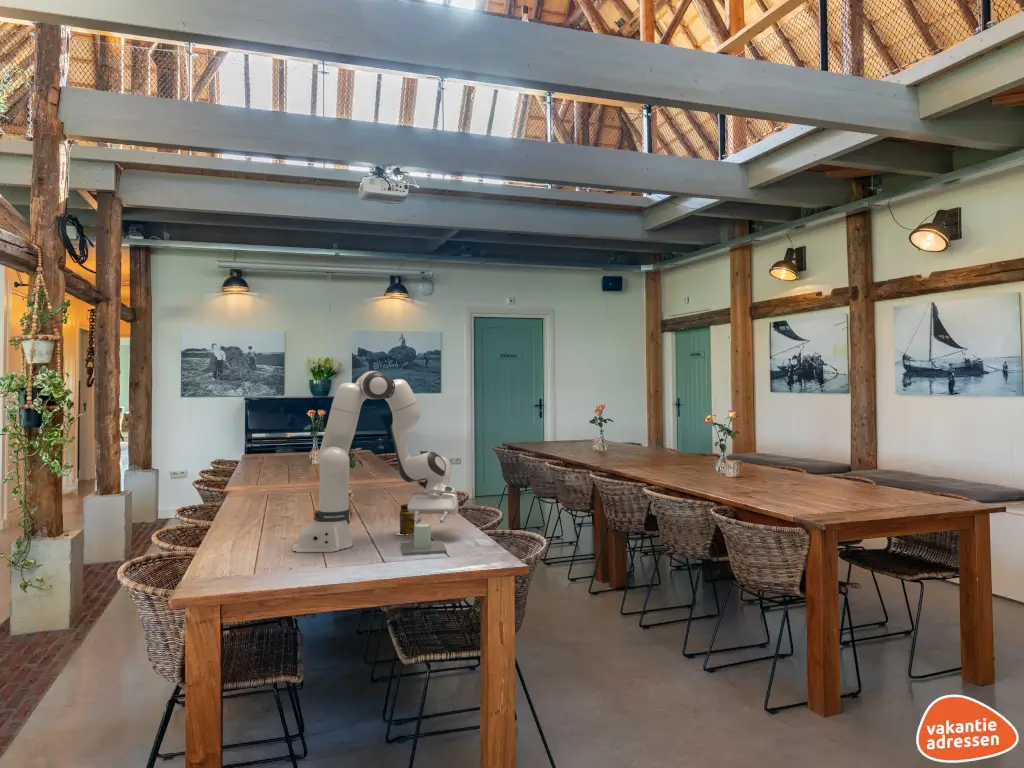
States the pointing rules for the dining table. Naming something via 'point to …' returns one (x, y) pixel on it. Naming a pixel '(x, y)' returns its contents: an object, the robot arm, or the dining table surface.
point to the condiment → (406, 521)
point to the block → (422, 535)
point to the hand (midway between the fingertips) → (430, 521)
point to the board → (434, 548)
